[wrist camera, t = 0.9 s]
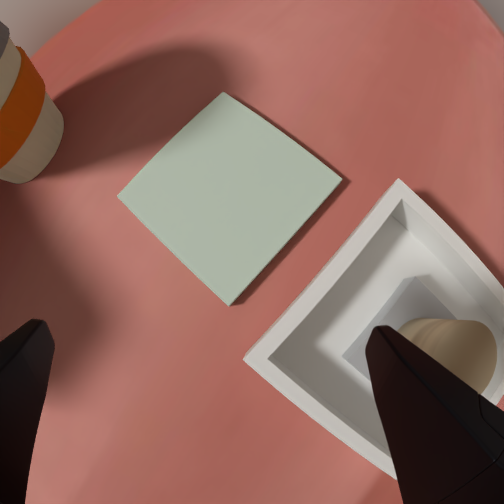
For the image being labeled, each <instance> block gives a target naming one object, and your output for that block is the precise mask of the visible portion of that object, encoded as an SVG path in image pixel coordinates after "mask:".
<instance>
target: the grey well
mask: <svg viewBox="0 0 504 504" xmlns="http://www.w3.org/2000/svg"><path fill="white" fill-rule="evenodd" d="M416 318H434V319H453V320H474V321H479V322H481V323H483V324H484V325H486V326H487V327H488V328H489V329H490V331H491V332H492V334H493V336H494V338H495V341H496V345H497V363H496V368H495V371H494V374H493V377H492V379H491V381H490V383H489V384H488V386H487V388H486V389H485V390H484V392H483V393H482V394H481V395H482V396H484V397H485V398H486V399H487V400H489V401H490V402H491V403H493V404H494V405H495V406H496V405H497V403H498V402H499V400H500V399H501V397H502V396H503V394H504V288H503V287H502V285H501V284H500V283H499V282H498V280H497V279H496V278H495V277H494V276H493V274H492V273H491V272H490V271H489V270H488V269H487V267H486V266H485V265H484V264H483V263H482V262H481V260H480V259H479V258H478V257H477V256H476V255H475V254H474V253H473V251H472V250H471V249H470V248H469V247H468V246H467V245H466V244H465V243H464V242H463V240H462V239H461V238H460V237H459V236H458V235H457V234H456V233H455V232H454V231H453V230H452V229H451V228H450V227H449V226H448V225H447V224H446V223H445V222H444V221H443V220H442V219H441V218H440V217H439V216H438V215H437V214H436V213H435V212H434V211H433V210H432V209H431V208H430V207H429V206H428V205H427V204H426V203H425V202H424V201H423V200H422V199H421V198H420V197H419V196H417V195H416V194H415V193H414V192H413V191H412V190H411V189H410V188H409V187H408V186H407V185H405V184H404V183H403V182H402V181H401V180H400V179H399V178H398V179H397V180H396V181H395V182H394V183H393V184H392V185H391V186H390V187H389V188H388V190H387V191H386V192H385V193H384V194H383V195H382V196H381V197H380V199H379V200H378V201H377V202H376V204H375V205H374V206H373V207H372V209H371V210H370V211H369V212H368V214H367V215H366V216H365V217H364V219H363V220H362V221H361V222H360V224H359V225H358V226H357V227H356V228H355V230H354V231H353V232H352V233H351V235H350V236H349V237H348V238H347V239H346V241H345V242H344V243H343V244H342V245H341V247H340V248H339V249H338V250H337V251H336V253H335V254H334V255H333V256H332V257H331V258H330V260H329V261H328V262H327V263H326V264H325V265H324V267H323V268H322V269H321V270H320V271H319V272H318V274H317V275H316V276H315V277H314V278H313V279H312V281H311V282H310V283H309V284H308V285H307V286H306V287H305V289H304V290H303V291H302V292H301V293H300V294H299V295H298V296H297V298H296V299H295V300H294V301H293V302H292V303H291V304H290V305H289V307H288V308H287V309H286V310H285V311H284V312H283V313H282V314H281V315H280V317H279V318H278V319H277V320H276V321H275V322H274V323H273V324H272V325H271V326H270V327H269V329H268V330H267V331H266V332H265V333H264V334H263V335H262V336H261V337H260V338H259V339H258V340H257V341H256V343H255V344H254V345H253V346H252V347H251V348H250V349H249V350H248V351H247V353H246V355H245V356H244V358H243V360H244V361H245V362H246V363H247V364H248V365H249V366H250V367H252V368H253V369H254V370H255V371H256V372H257V373H258V374H260V375H261V376H262V377H263V378H264V379H265V380H267V381H268V382H269V383H270V384H271V385H272V386H274V387H275V388H276V389H277V390H278V391H280V392H281V393H282V394H283V395H284V396H285V397H287V398H288V399H289V400H290V401H292V402H293V403H294V404H295V405H296V406H298V407H299V408H300V409H301V410H303V411H304V412H305V413H306V414H308V415H309V416H310V417H311V418H313V419H314V420H315V421H316V422H318V423H319V424H320V425H321V426H323V427H324V428H325V429H327V430H328V431H329V432H331V433H332V434H333V435H334V436H336V437H337V438H338V439H340V440H341V441H342V442H344V443H345V444H346V445H348V446H349V447H350V448H352V449H353V450H355V451H356V452H357V453H359V454H360V455H361V456H363V457H364V458H366V459H367V460H368V461H370V462H371V463H373V464H374V465H375V466H377V467H378V468H380V469H381V470H383V471H384V472H386V473H387V474H388V475H390V476H391V477H393V478H394V479H396V480H397V476H396V473H395V469H394V465H393V461H392V458H391V454H390V451H389V447H388V443H387V440H386V437H385V433H384V430H383V426H382V423H381V420H380V416H379V413H378V410H377V407H376V403H375V399H374V395H373V390H372V385H371V380H370V375H369V370H368V365H367V360H366V356H365V347H366V344H367V342H368V339H369V337H370V334H371V332H372V329H373V328H374V327H375V326H378V325H389V326H391V327H392V328H393V329H395V330H396V331H397V330H398V329H399V328H400V327H401V326H402V325H403V324H405V323H406V322H408V321H410V320H412V319H416ZM397 481H398V480H397Z"/></svg>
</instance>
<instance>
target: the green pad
mask: <svg viewBox="0 0 504 504" xmlns="http://www.w3.org/2000/svg"><path fill="white" fill-rule="evenodd" d="M341 181H342V178H341V177H339V176H338V175H337V174H336V173H334V172H333V171H332V170H331V169H329V168H328V167H327V166H326V165H324V164H323V163H322V162H321V161H319V160H318V159H317V158H316V157H314V156H313V155H312V154H310V153H309V152H308V151H307V150H305V149H304V148H303V147H301V146H300V145H299V144H297V143H296V142H295V141H293V140H292V139H291V138H289V137H288V136H287V135H285V134H284V133H283V132H281V131H280V130H278V129H277V128H276V127H274V126H273V125H272V124H270V123H269V122H267V121H266V120H264V119H263V118H262V117H260V116H259V115H257V114H256V113H254V112H253V111H252V110H250V109H249V108H247V107H246V106H244V105H243V104H241V103H240V102H238V101H237V100H235V99H234V98H232V97H231V96H229V95H228V94H226V93H225V92H222V93H221V94H220V95H219V96H218V97H216V98H215V99H214V100H213V101H212V102H211V103H210V104H208V105H207V106H206V107H205V108H204V109H203V110H202V111H201V112H200V113H198V114H197V115H196V116H195V117H194V118H193V119H192V120H191V121H190V122H189V123H188V124H187V125H185V126H184V127H183V128H182V129H181V130H180V131H179V132H178V133H177V134H176V135H175V136H174V137H173V138H172V139H171V140H170V141H169V142H168V143H167V144H166V145H165V146H164V147H163V148H162V149H161V150H160V151H159V152H158V153H157V154H156V155H155V156H154V157H153V158H152V159H151V160H150V161H149V162H148V163H147V164H146V165H145V166H144V167H143V168H142V169H141V170H140V172H139V173H138V174H137V175H136V176H135V177H134V178H133V179H132V180H131V181H130V182H129V183H128V185H127V186H126V187H125V188H124V189H123V190H122V191H121V192H120V193H119V195H118V196H117V197H118V198H119V199H120V200H121V201H122V202H123V203H124V204H125V205H126V206H127V207H128V208H129V209H130V211H131V212H132V213H133V214H134V215H135V216H136V217H137V218H138V219H139V220H140V221H141V222H142V223H143V224H144V225H145V226H146V227H147V228H148V229H149V230H150V231H151V232H152V233H153V234H154V235H155V236H156V237H157V238H158V239H159V240H160V241H161V242H162V243H163V244H164V245H165V246H166V247H167V248H168V249H169V250H170V251H171V252H172V253H173V254H174V255H175V256H176V257H177V258H178V259H179V260H180V261H181V262H182V263H183V264H184V265H186V266H187V267H188V268H189V269H190V270H191V271H192V272H193V273H194V274H195V275H196V276H197V277H198V278H199V279H200V280H201V281H202V282H203V283H204V284H205V285H206V286H207V287H209V288H210V289H211V290H212V291H213V292H214V293H215V294H216V295H217V296H218V297H219V298H220V299H221V300H222V301H223V302H225V303H226V304H227V305H228V306H230V305H231V304H232V303H233V302H234V301H235V300H236V299H237V298H238V297H239V296H240V295H241V293H242V292H243V291H244V290H245V289H246V288H247V287H248V286H249V285H250V284H251V282H252V281H253V280H254V279H255V278H256V277H257V276H258V275H259V274H260V273H261V271H262V270H263V269H264V268H265V267H266V266H267V265H268V264H269V263H270V262H271V260H272V259H273V258H274V257H275V256H276V255H277V254H278V253H279V252H280V250H281V249H282V248H283V247H284V246H285V245H286V244H287V243H288V241H289V240H290V239H291V238H292V237H293V236H294V235H295V234H296V233H297V231H298V230H299V229H300V228H301V227H302V226H303V225H304V224H305V222H306V221H307V220H308V219H309V218H310V217H311V216H312V215H313V213H314V212H315V211H316V210H317V209H318V208H319V207H320V206H321V204H322V203H323V202H324V201H325V200H326V199H327V198H328V196H329V195H330V194H331V193H332V192H333V191H334V190H335V188H336V187H337V186H338V185H339V184H340V183H341Z"/></svg>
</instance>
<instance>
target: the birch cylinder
mask: <svg viewBox="0 0 504 504" xmlns="http://www.w3.org/2000/svg"><path fill="white" fill-rule="evenodd" d="M397 332H399V333H400V334H401V335H403V336H404V337H405V338H407V339H408V340H409V341H411V342H412V343H414V344H415V345H416V346H418V347H419V348H420V349H422V350H423V351H424V352H426V353H427V354H428V355H430V356H431V357H432V358H434V359H435V360H436V361H438V362H439V363H440V364H442V365H443V366H444V367H445V368H447V369H448V370H449V371H451V372H452V373H453V374H455V375H456V376H457V377H459V378H460V379H461V380H463V381H464V382H465V383H467V384H468V385H469V386H470V387H472V388H473V389H474V390H476V391H477V392H478V394H482V393H483V392H484V390H485V389H486V388H487V386H488V384H489V383H490V381H491V379H492V377H493V374H494V371H495V368H496V363H497V345H496V341H495V338H494V336H493V334H492V332H491V331H490V329H489V328H488V327H487V326H486V325H484V324H483V323H481V322H479V321H474V320H453V319H434V318H416V319H412V320H410V321H408V322H406V323H405V324H403V325H402V326H401V327H400V328H399V329H398V330H397Z"/></svg>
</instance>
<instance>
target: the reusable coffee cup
mask: <svg viewBox="0 0 504 504" xmlns="http://www.w3.org/2000/svg"><path fill="white" fill-rule="evenodd" d="M63 130H64V121H63V117H62V114H61V112H60V111H59V110H58V108H57V107H56V105H55V104H54V103H53V101H52V100H51V98H50V97H49V96H48V94H47V93H46V91H45V84H44V81H43V79H42V78H41V76H40V75H39V73H38V72H37V70H36V69H35V67H34V65H33V64H32V62H31V61H30V59H29V58H28V56H27V55H26V53H25V52H24V50H23V49H22V48H21V47H17V46H15V45H14V44H13V42H12V40H11V39H10V37H9V28H7V27H6V26H5V25H4V24H3V23H2V22H0V179H2V180H5V181H8V182H11V183H15V184H21V183H25V182H28V181H30V180H32V179H33V178H34V177H36V176H37V175H38V174H39V173H40V172H41V171H42V170H44V168H45V167H46V166H47V165H48V163H49V162H50V161H51V159H52V158H53V156H54V155H55V153H56V151H57V149H58V147H59V144H60V142H61V139H62V135H63Z"/></svg>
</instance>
